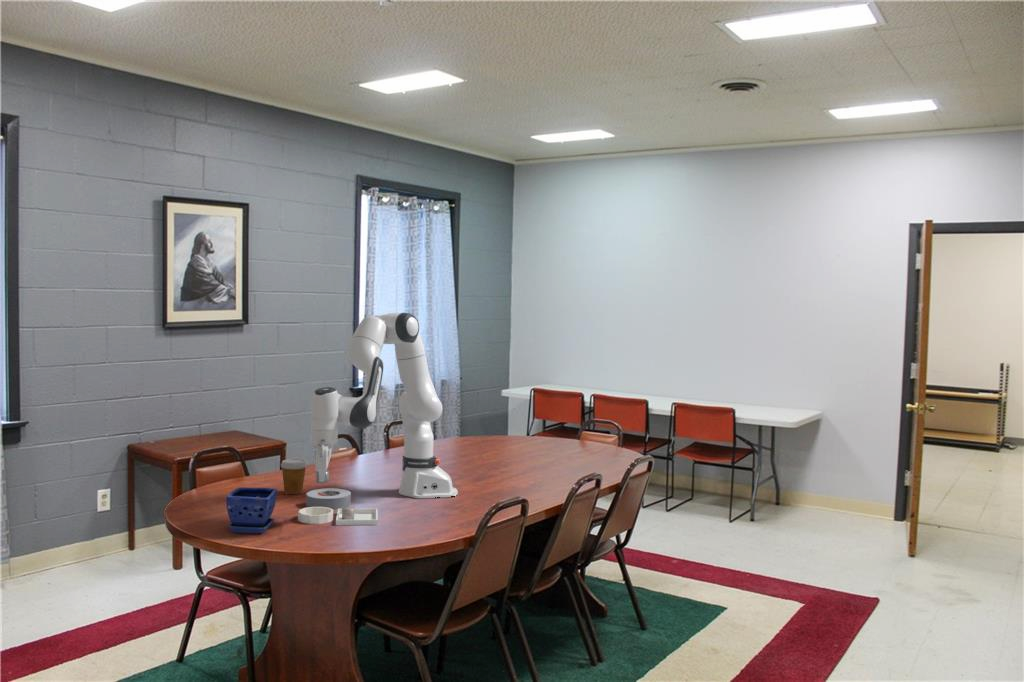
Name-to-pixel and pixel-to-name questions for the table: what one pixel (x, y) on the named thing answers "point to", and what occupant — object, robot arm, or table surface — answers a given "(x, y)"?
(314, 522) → the bowl
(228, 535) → the table surface
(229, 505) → the flower pot
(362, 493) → the table surface
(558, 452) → the table surface
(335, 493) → the tape roll
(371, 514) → the tray
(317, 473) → the pebble
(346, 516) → the pebble
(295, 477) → the disposable coffee cup
